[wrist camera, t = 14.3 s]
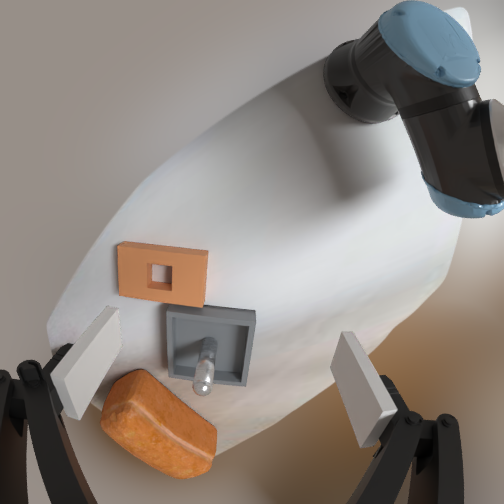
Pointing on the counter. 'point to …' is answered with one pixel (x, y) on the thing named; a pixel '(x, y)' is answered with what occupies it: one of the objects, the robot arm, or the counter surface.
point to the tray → (210, 325)
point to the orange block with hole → (179, 292)
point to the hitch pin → (205, 367)
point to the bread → (158, 426)
